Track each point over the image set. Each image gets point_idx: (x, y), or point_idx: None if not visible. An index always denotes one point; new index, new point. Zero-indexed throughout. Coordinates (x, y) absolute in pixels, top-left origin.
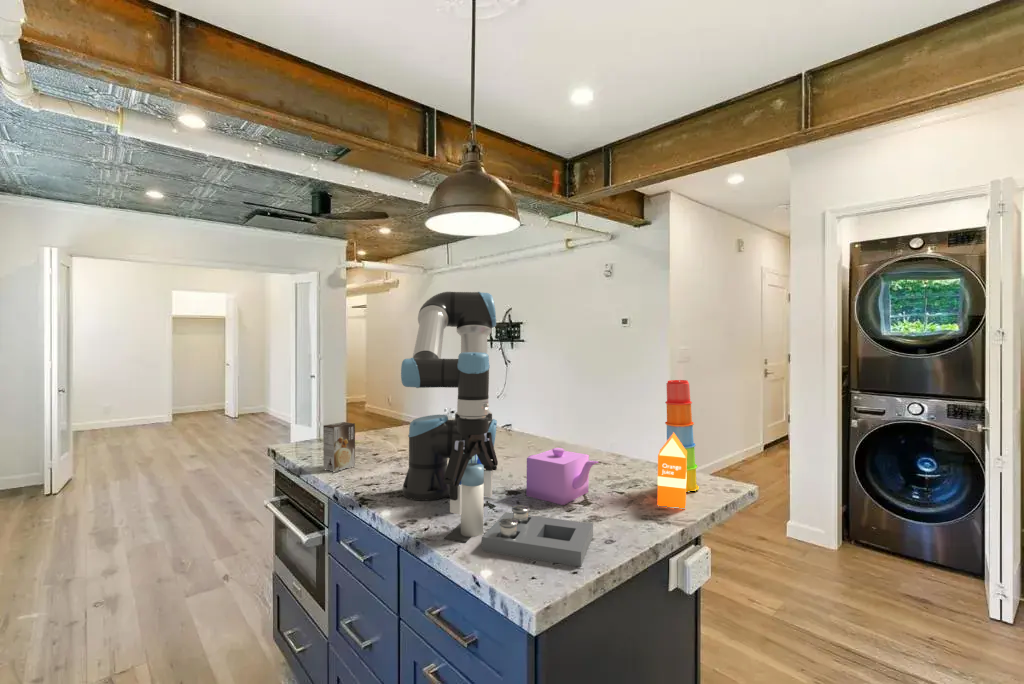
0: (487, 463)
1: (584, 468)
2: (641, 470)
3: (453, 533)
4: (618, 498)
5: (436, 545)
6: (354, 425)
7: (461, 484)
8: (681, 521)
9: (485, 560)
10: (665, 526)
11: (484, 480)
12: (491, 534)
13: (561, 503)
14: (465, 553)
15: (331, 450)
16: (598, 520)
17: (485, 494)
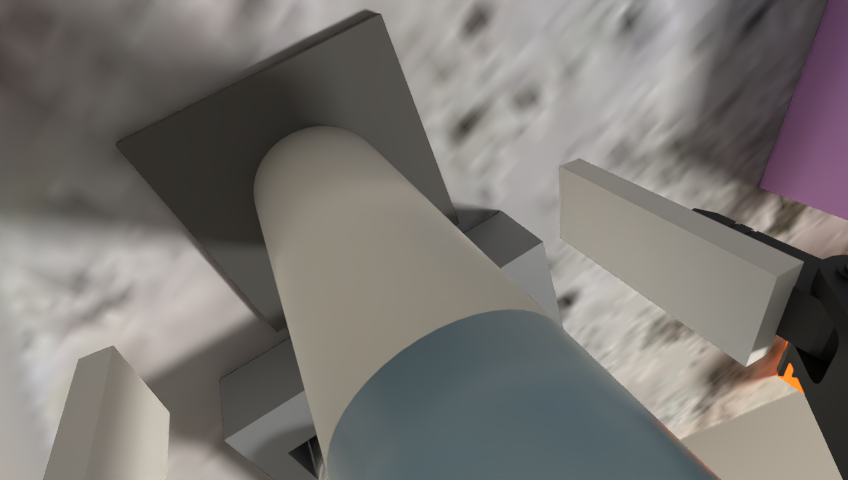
0: (841, 443)
1: None
2: None
3: (217, 133)
4: (829, 248)
5: (12, 189)
6: None
7: (339, 407)
8: (718, 414)
9: (188, 436)
10: (685, 421)
11: (662, 249)
12: (285, 432)
13: (767, 180)
14: (142, 355)
15: None
16: (673, 337)
17: (569, 203)
